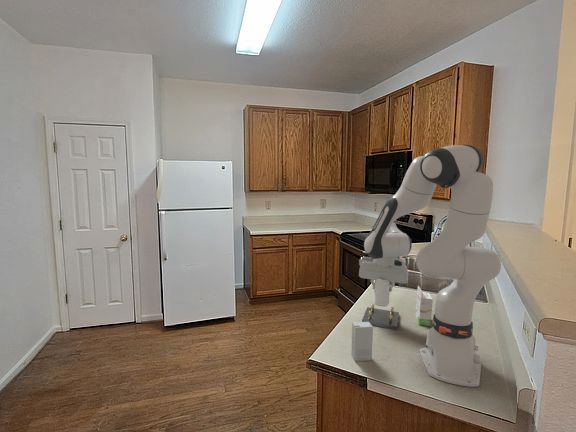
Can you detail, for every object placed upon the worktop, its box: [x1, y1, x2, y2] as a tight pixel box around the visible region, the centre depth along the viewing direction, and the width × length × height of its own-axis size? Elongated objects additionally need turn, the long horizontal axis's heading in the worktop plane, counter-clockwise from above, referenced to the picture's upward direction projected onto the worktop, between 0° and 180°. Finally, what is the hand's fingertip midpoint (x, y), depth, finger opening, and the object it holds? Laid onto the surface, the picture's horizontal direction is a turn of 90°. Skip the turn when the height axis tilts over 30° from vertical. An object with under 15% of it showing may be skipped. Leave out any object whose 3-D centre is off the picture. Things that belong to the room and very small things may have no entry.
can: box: [373, 278, 391, 307], centre depth 139 cm, size 6×6×12 cm
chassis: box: [361, 303, 400, 331], centre depth 140 cm, size 15×14×4 cm
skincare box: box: [351, 321, 374, 362], centre depth 109 cm, size 6×4×12 cm
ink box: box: [415, 285, 434, 327], centre depth 138 cm, size 9×5×15 cm, turn 168°
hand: (382, 290), depth 139 cm, fingers closed on can, 5 cm apart
